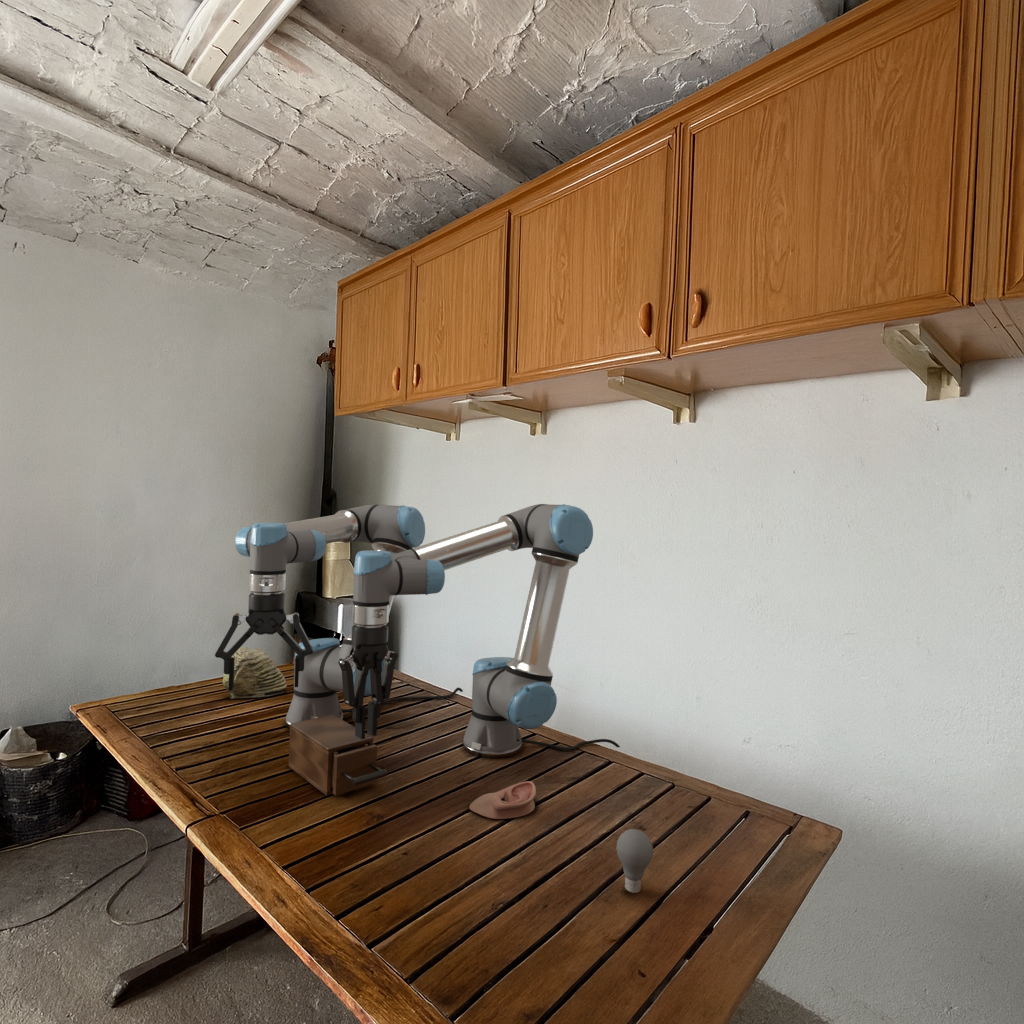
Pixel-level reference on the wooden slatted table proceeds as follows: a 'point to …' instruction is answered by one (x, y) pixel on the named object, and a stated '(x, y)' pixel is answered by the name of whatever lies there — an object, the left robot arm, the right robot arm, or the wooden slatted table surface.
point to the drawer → (354, 768)
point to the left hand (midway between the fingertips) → (264, 687)
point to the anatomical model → (506, 802)
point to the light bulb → (634, 857)
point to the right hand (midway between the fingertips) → (365, 735)
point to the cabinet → (320, 748)
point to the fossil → (254, 675)
